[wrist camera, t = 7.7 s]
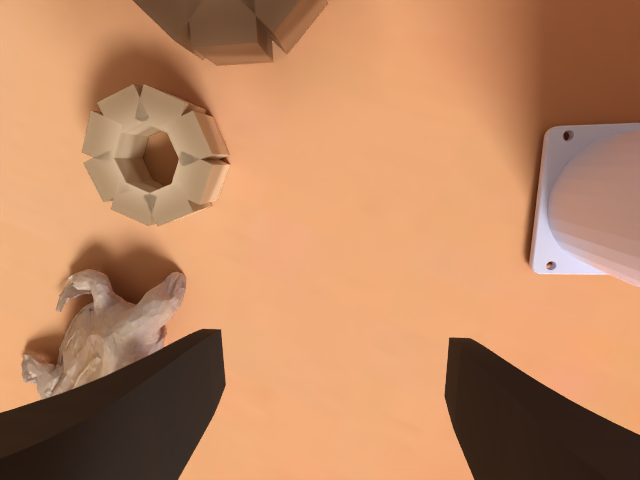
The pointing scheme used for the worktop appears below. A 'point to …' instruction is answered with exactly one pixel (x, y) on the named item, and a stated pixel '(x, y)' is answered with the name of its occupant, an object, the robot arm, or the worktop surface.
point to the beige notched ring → (129, 146)
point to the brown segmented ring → (234, 26)
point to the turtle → (105, 332)
